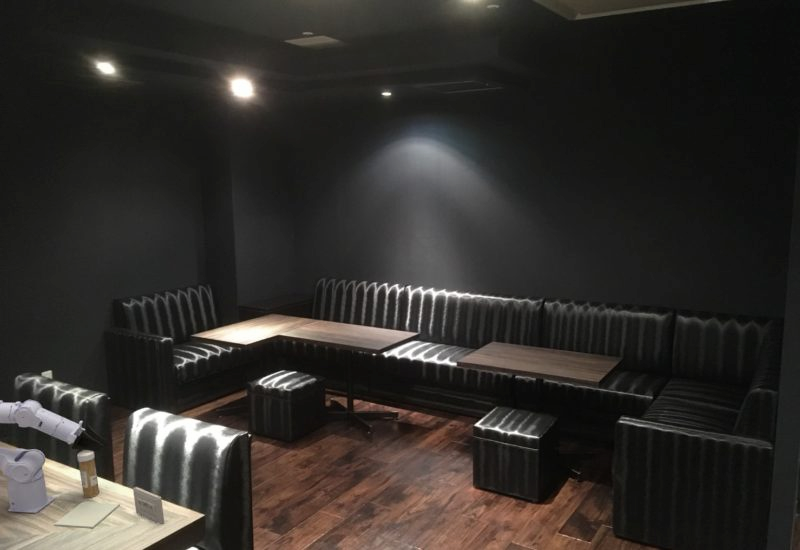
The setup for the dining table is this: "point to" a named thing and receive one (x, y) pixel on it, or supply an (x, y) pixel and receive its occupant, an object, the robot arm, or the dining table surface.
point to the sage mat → (87, 515)
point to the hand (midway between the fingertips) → (103, 446)
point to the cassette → (148, 505)
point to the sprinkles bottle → (88, 473)
